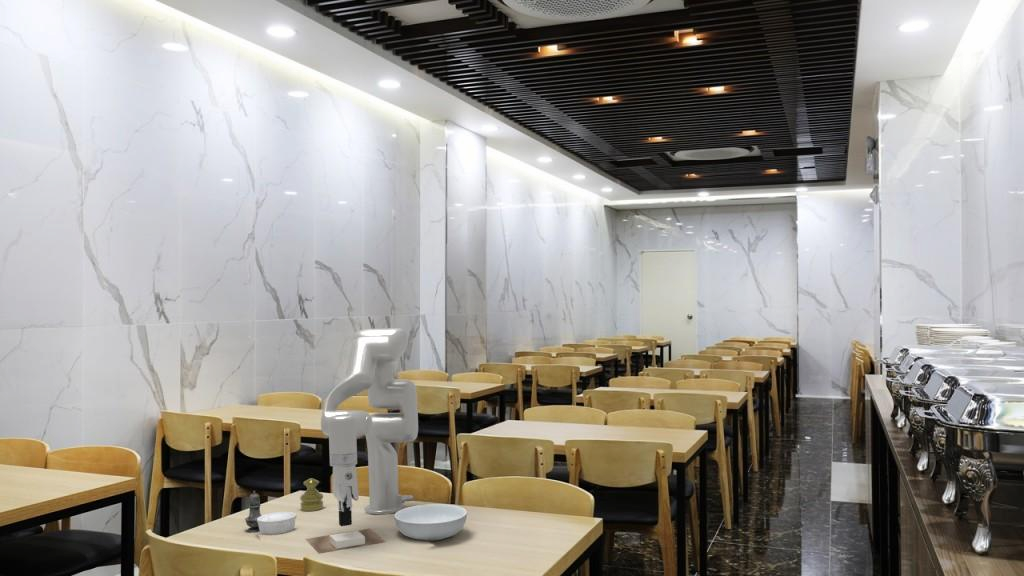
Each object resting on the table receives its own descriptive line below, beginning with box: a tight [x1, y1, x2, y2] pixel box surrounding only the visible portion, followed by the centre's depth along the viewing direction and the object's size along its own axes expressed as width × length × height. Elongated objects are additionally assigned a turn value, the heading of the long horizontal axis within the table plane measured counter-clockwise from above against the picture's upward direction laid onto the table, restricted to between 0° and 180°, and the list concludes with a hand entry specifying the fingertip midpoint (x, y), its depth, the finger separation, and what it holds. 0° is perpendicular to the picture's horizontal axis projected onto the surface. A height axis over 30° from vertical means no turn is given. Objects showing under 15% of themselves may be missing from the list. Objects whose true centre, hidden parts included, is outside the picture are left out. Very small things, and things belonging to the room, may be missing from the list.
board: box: [305, 528, 388, 555], centre depth 229 cm, size 19×16×1 cm
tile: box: [329, 530, 365, 549], centre depth 225 cm, size 8×2×7 cm
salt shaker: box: [244, 490, 263, 533], centre depth 247 cm, size 6×6×12 cm
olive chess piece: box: [299, 478, 324, 512], centre depth 271 cm, size 7×7×10 cm
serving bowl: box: [393, 503, 468, 542], centre depth 234 cm, size 21×21×7 cm
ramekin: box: [257, 511, 297, 535], centre depth 242 cm, size 11×11×5 cm
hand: (345, 524), depth 226 cm, fingers closed
